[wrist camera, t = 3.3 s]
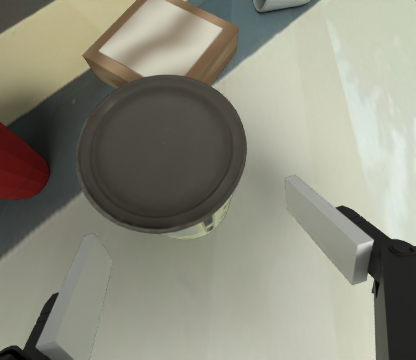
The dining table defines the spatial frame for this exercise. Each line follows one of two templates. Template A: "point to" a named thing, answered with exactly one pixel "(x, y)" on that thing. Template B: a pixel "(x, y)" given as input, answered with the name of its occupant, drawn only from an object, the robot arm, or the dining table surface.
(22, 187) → the plastic cup
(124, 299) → the dining table surface
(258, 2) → the ceramic mug
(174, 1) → the picture frame
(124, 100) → the coffee can
